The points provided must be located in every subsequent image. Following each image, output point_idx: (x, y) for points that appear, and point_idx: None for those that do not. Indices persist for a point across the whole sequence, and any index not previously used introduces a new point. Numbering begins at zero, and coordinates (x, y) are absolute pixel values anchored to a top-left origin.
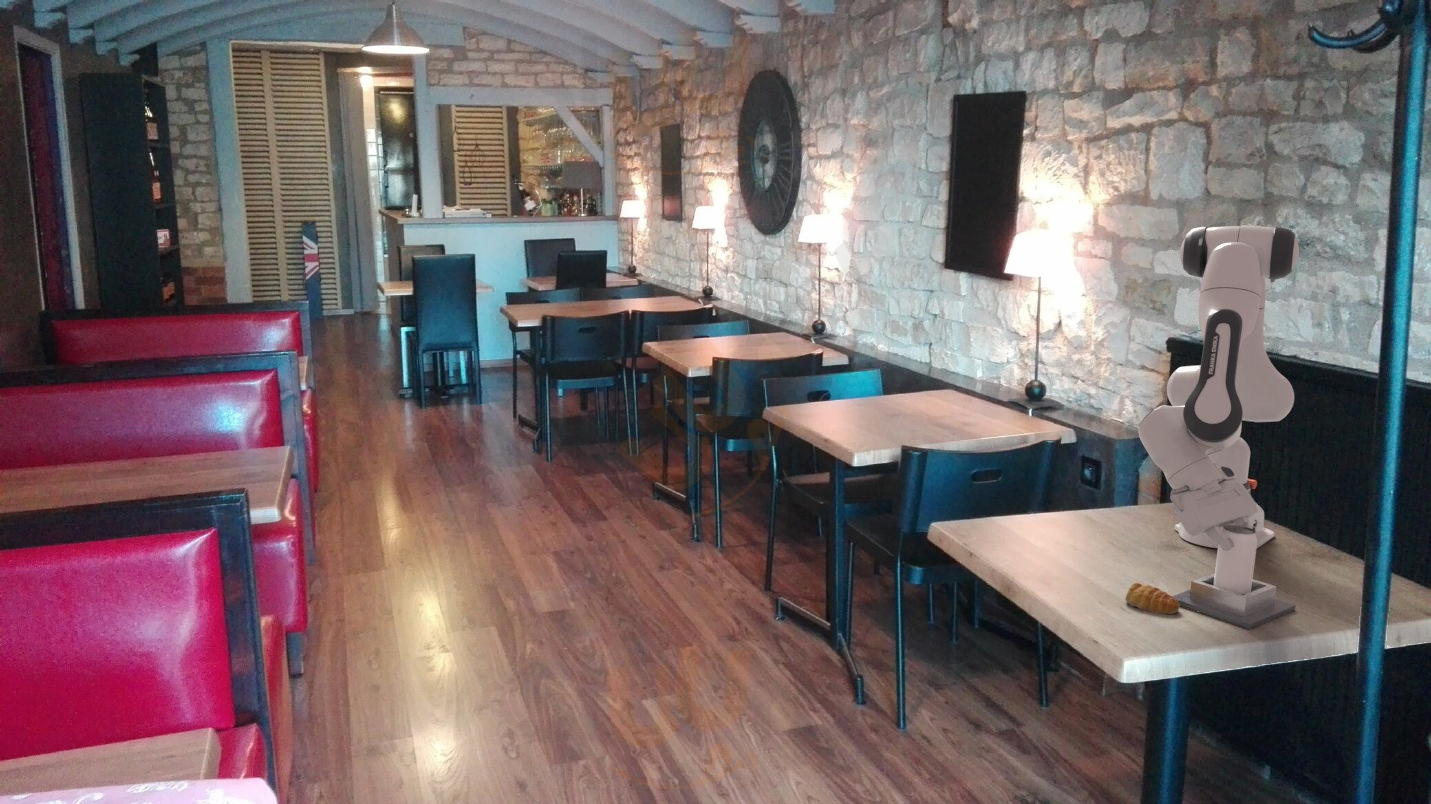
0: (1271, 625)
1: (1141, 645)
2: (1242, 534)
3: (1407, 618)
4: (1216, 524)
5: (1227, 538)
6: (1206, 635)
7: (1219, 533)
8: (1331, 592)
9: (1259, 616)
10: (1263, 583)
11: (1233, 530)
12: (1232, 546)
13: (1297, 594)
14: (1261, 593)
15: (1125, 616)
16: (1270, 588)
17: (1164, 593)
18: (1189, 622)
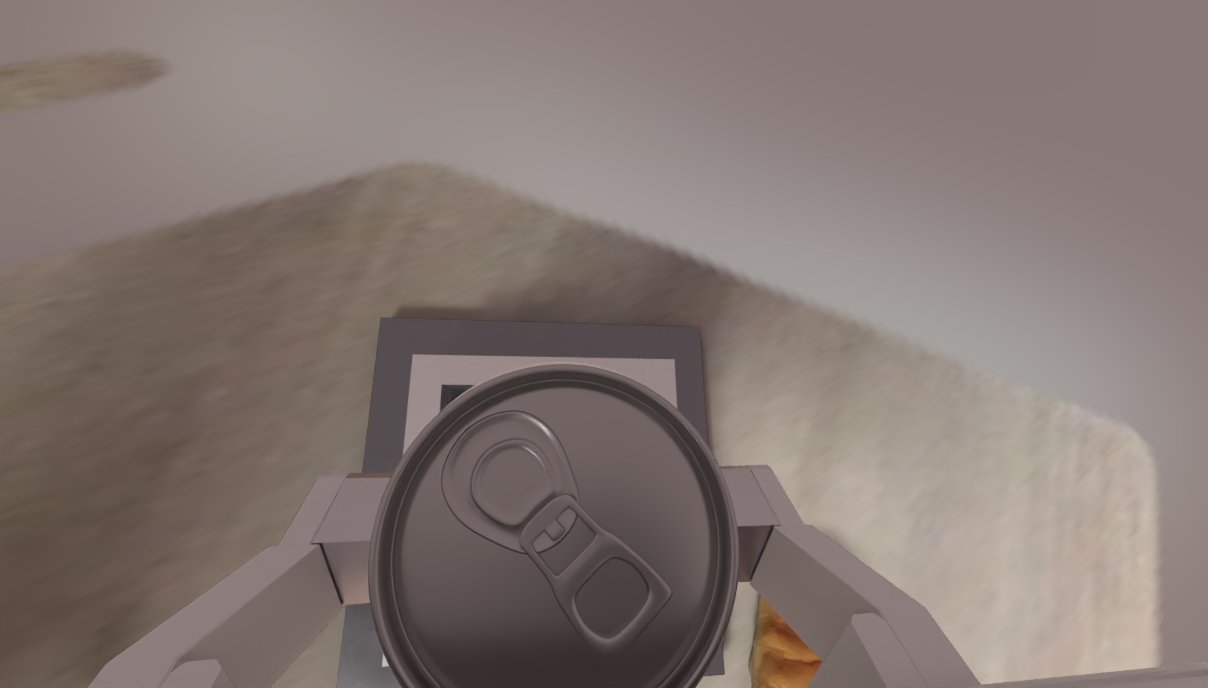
0: (598, 308)
1: (1065, 460)
2: (680, 428)
3: (151, 68)
4: (986, 684)
5: (771, 524)
6: (846, 389)
7: (891, 583)
8: (22, 327)
9: (606, 343)
10: (423, 410)
11: (608, 589)
12: (732, 466)
13: (172, 401)
14: (549, 357)
15: (963, 657)
16: (465, 357)
17: (819, 660)
18: (809, 484)
